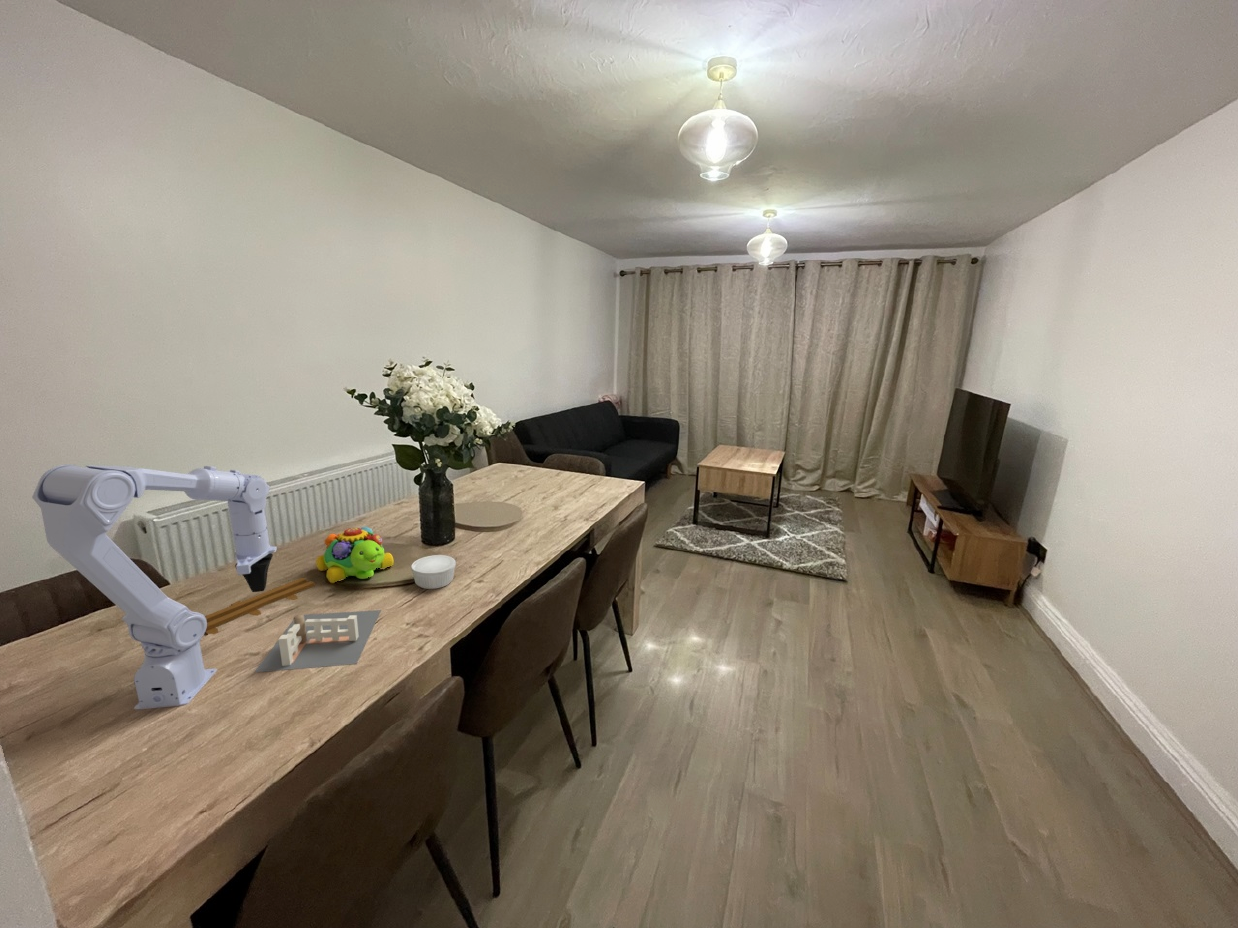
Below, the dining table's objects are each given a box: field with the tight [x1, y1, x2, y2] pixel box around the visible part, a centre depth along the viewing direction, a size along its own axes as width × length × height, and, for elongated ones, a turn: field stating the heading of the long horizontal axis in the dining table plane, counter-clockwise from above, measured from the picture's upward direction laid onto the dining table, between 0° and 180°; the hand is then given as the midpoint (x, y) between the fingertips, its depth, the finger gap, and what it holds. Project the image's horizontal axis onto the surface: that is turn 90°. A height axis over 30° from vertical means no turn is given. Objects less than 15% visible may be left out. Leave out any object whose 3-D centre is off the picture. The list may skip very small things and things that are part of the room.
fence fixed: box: [278, 614, 307, 666], centre depth 100 cm, size 9×2×6 cm, turn 12°
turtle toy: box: [315, 526, 395, 584], centre depth 134 cm, size 17×23×12 cm
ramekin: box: [410, 554, 457, 590], centre depth 132 cm, size 11×11×5 cm
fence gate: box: [305, 615, 359, 641], centre depth 104 cm, size 10×1×5 cm, turn 98°
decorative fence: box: [204, 577, 316, 635], centre depth 116 cm, size 25×2×10 cm
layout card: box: [253, 609, 382, 674], centre depth 106 cm, size 20×18×1 cm
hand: (258, 590), depth 104 cm, fingers closed
